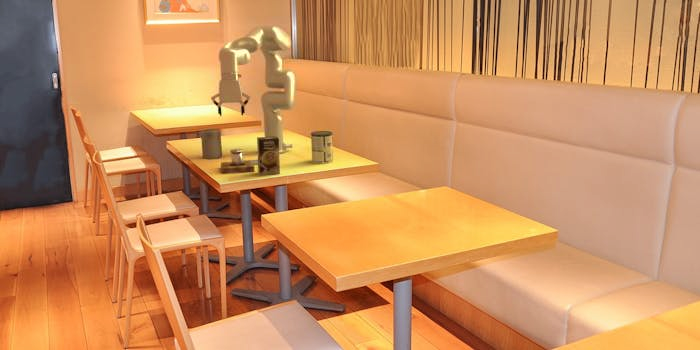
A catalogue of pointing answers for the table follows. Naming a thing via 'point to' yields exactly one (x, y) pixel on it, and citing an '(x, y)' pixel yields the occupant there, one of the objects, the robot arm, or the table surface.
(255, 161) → the rubber mat
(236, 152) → the end cap
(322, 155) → the coffee can
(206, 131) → the pillar candle
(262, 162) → the coffee box
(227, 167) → the brown wooden square frame
